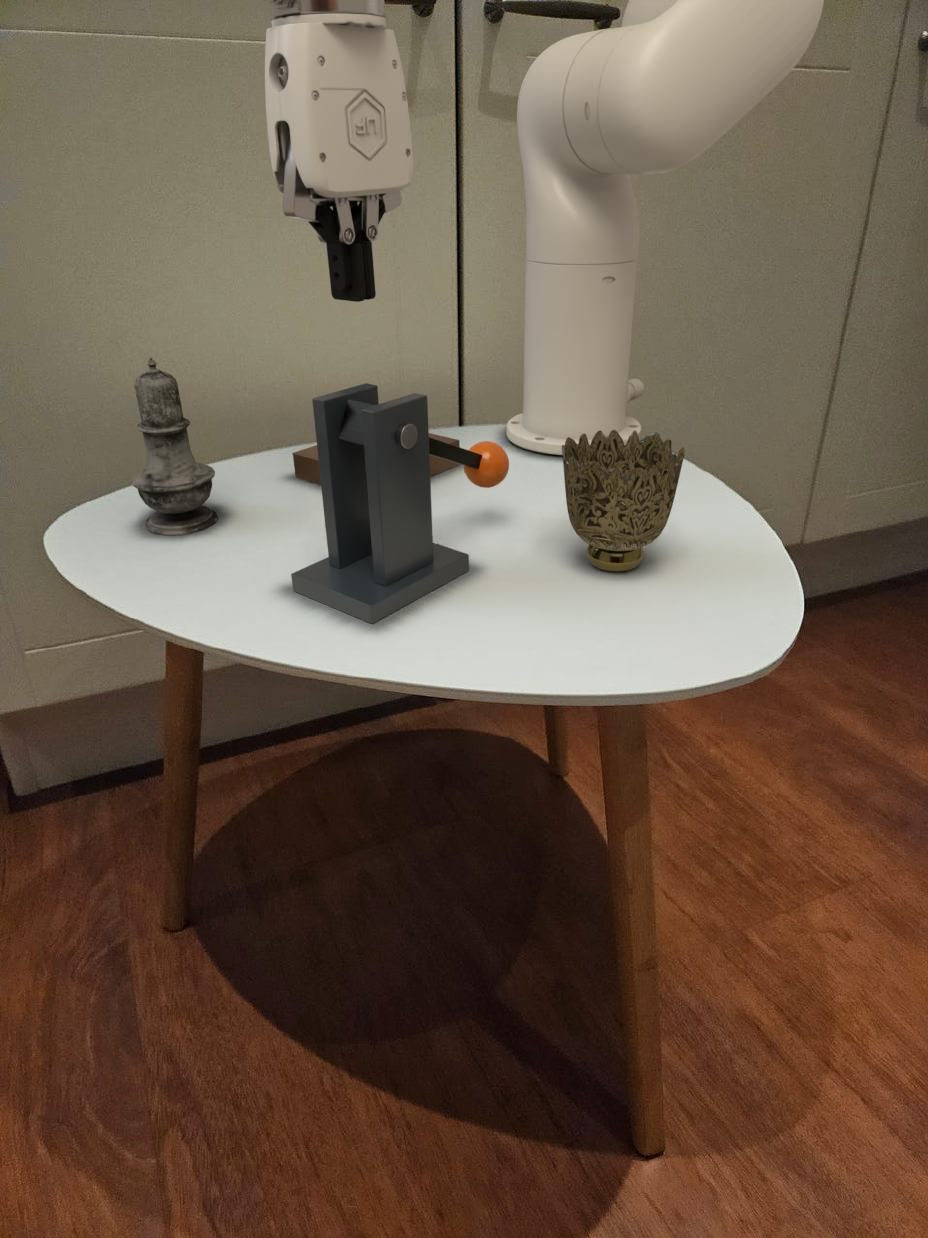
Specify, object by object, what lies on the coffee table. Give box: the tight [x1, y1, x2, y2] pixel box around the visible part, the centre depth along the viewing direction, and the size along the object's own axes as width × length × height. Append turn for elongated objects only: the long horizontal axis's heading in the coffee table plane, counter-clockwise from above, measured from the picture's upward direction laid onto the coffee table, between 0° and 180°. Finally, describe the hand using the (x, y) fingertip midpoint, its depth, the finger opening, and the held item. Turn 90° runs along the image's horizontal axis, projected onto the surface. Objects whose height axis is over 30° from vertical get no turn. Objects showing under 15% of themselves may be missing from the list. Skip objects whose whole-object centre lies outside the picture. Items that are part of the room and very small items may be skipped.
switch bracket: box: [290, 382, 470, 624], centre depth 52 cm, size 9×7×12 cm
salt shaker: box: [130, 357, 219, 536], centre depth 61 cm, size 6×6×12 cm
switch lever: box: [338, 399, 510, 489], centre depth 55 cm, size 15×3×3 cm, turn 141°
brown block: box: [292, 432, 461, 486], centre depth 72 cm, size 11×9×4 cm
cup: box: [562, 430, 686, 572], centre depth 54 cm, size 8×7×8 cm
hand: (353, 298), depth 65 cm, fingers closed
